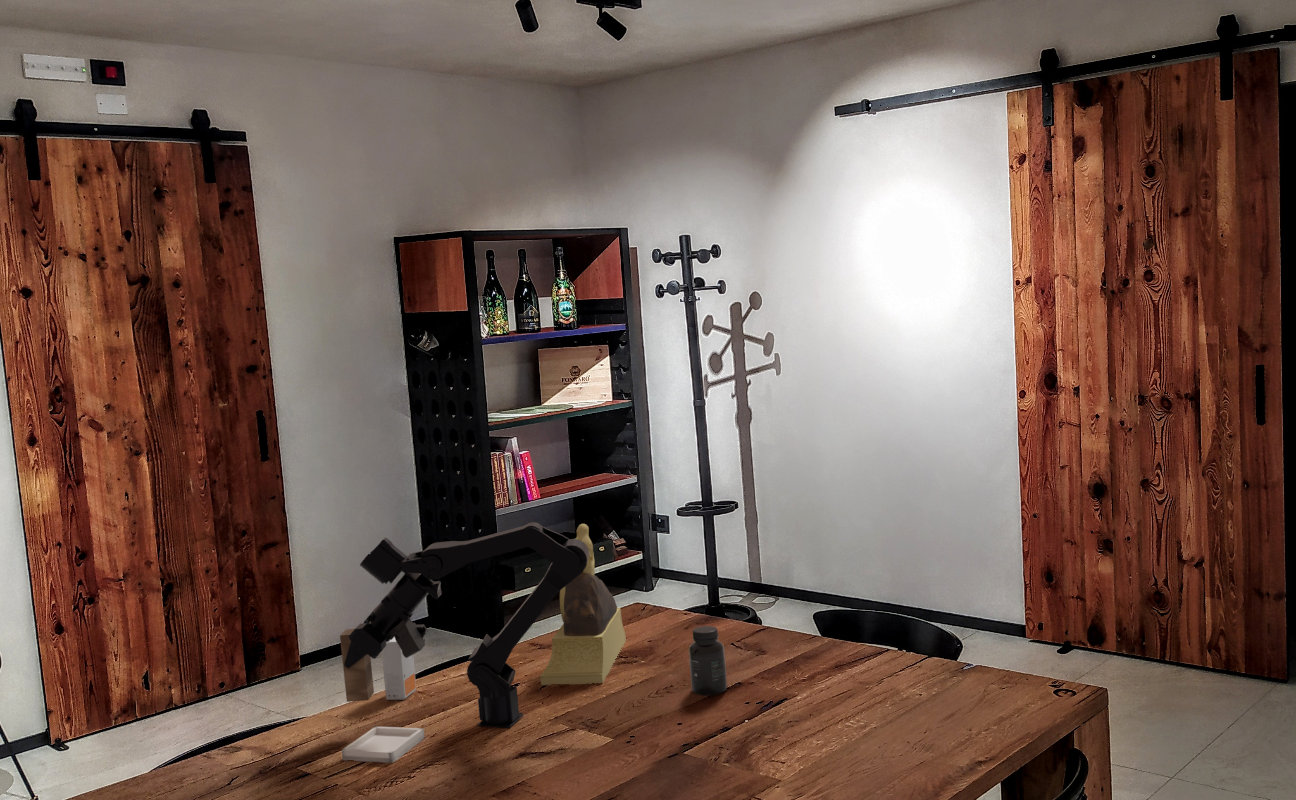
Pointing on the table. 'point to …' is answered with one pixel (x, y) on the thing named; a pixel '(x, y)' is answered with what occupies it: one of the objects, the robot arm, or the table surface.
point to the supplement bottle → (707, 662)
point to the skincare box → (397, 672)
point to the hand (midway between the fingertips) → (349, 663)
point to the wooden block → (356, 673)
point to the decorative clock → (585, 629)
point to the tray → (383, 744)
